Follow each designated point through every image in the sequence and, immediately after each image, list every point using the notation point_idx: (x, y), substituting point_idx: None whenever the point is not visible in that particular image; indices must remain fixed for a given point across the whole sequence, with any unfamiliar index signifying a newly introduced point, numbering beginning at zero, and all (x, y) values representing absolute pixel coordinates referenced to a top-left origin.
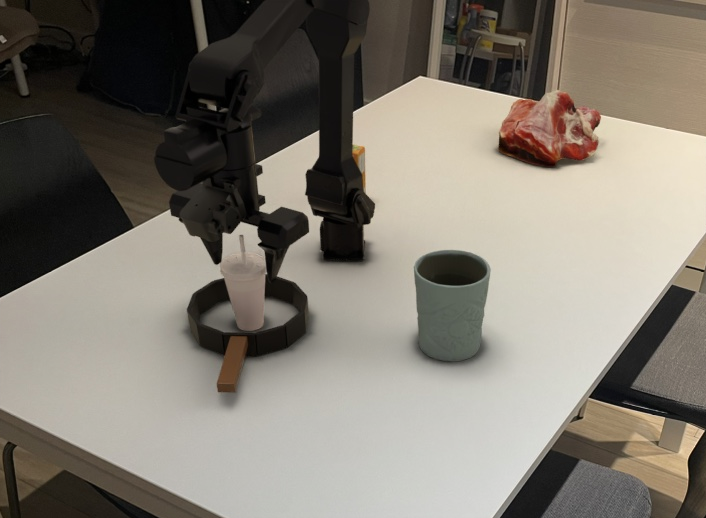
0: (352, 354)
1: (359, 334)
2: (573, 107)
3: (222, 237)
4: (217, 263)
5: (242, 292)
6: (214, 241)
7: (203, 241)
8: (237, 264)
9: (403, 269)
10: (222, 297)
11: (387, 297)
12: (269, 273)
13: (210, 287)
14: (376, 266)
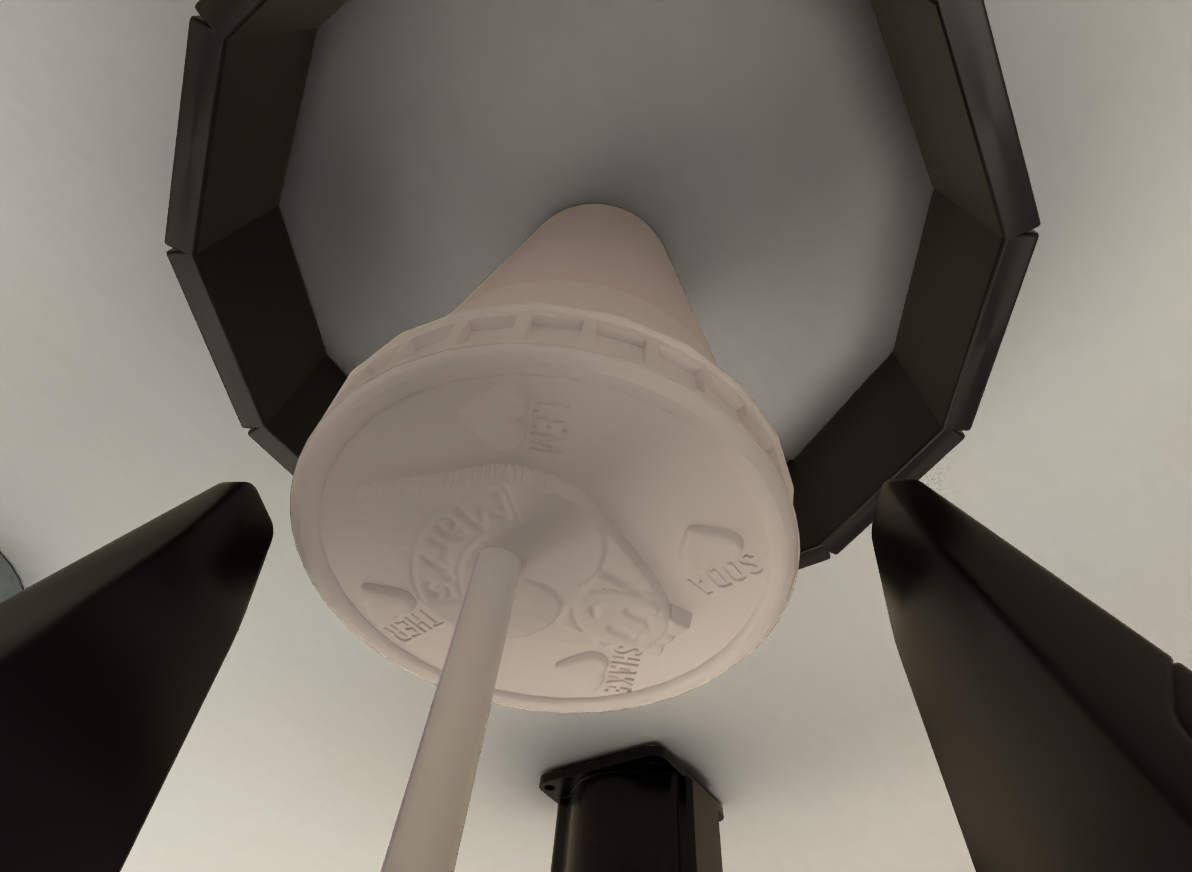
0: (15, 334)
1: (151, 465)
2: None
3: (955, 810)
4: (885, 496)
5: (463, 303)
6: (1008, 737)
7: (1187, 693)
8: (549, 527)
9: (406, 779)
10: (880, 385)
11: (308, 670)
12: (136, 541)
13: (952, 372)
14: (485, 767)
